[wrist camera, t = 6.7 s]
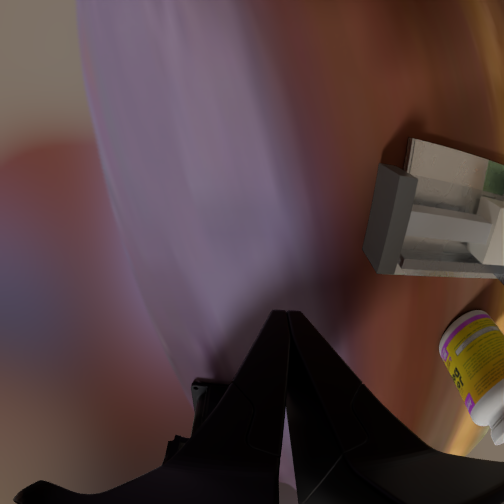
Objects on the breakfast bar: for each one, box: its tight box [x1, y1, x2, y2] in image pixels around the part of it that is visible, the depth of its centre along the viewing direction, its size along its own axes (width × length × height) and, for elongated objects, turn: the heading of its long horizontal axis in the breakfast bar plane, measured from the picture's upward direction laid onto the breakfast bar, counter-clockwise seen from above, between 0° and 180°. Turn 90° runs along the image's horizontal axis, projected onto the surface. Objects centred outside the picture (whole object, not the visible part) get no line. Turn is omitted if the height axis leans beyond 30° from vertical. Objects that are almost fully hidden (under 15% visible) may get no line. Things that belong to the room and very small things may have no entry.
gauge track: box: [392, 137, 504, 285], centre depth 17 cm, size 10×14×6 cm
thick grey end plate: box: [362, 163, 504, 274], centre depth 17 cm, size 8×13×3 cm, turn 87°
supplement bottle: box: [439, 310, 504, 445], centre depth 19 cm, size 7×7×13 cm
